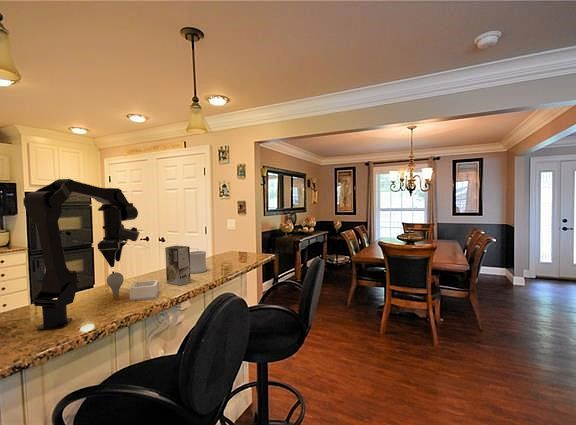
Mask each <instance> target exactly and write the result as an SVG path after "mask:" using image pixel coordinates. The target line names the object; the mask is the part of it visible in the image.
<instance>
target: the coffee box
mask: <svg viewBox="0 0 576 425" xmlns="http://www.w3.org/2000/svg"><path fill="white" fill-rule="evenodd" d="M164 249H165V254H164V255H165V269H166V270H165V271H166V272H165V273H166V276H165V277H166V284H171V285H175V286H183V285H187V284H190V283H191V279H192V278H191V273H190V252H191V251H190V250H191V249H190V246H187V245H186V246H185V245H171V246H168V247H164Z"/></svg>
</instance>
